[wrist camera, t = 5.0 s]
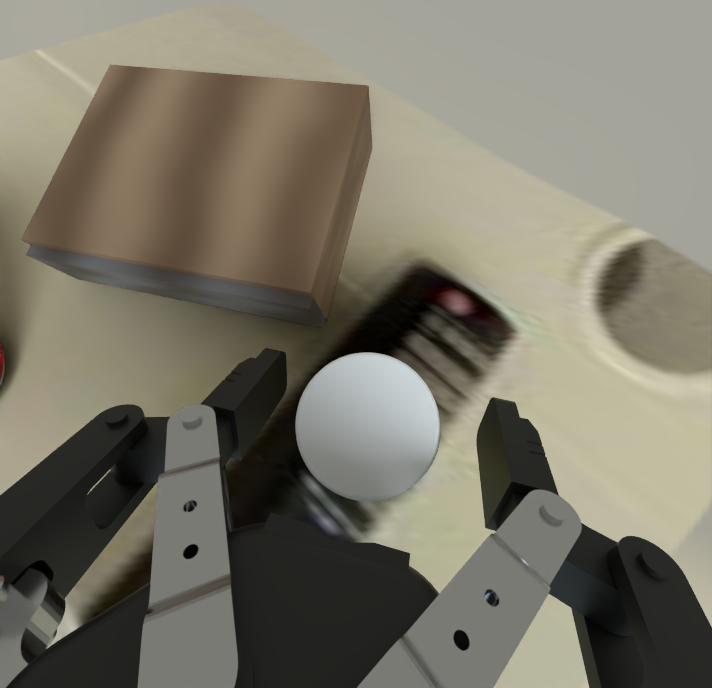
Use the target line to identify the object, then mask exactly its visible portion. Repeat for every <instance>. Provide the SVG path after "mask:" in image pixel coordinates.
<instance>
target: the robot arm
mask: <svg viewBox="0 0 712 688" xmlns="http://www.w3.org/2000/svg"><path fill="white" fill-rule="evenodd" d="M286 386H287V370H286V354H285V352H282V351H278V350H273V349H268V348H266V349H264V350H263V351H262V352H261V354H260V355H259V356H258V357H257V358H256V359H255V358H249V359H247V360H245V361H243V362H241V363H240V364H238V366H237V367H236V368H235V369H234V370H233V371H232V372H231V373H230V374H229V375H228V376H227V377H226V378H225V380H223V381H222V382H221V383H220V384H219V385H218V386H217V387H216V388H215V389H214V390H213V391H212V393H211V394H210V395H209V396H208V397H207V398H206V399H205V400H204V401H203V402H202V403H201V404H197V405H190V406H186V407H184V408H182V409H180V410H178V411H176V412H175V413H174V414H173V415H172V416H171V417H145V416H144V413H143V410H142V409H141V408H140V407H138V406H136V405H119V406H115V407H112V408H110V409H107V410H105V411H103V412H102V413H100V414H99V415H98V416H96V417H95V418H94V419H93V420H91V421H90V422H89V423H88V424H87V425H85V426H84V427H83V428H82V429H80V430H79V431H78V432H77V433H76V434H74V435H73V436H72V437H71V438H70V439H68V440H67V441H66V442H65V443H64V444H62V445H61V446H60V447H59V448H57V449H56V450H55V451H54V452H53V453H51V454H50V455H49V456H48V457H47V458H45V459H44V460H43V461H42V462H40V463H39V464H38V465H37V466H36V467H34V468H33V469H32V470H31V471H30V472H28V473H27V474H26V475H25V476H23V477H22V478H21V479H20V480H19V481H17V482H16V483H15V484H14V485H13V486H11V487H10V488H9V489H8V490H6V491H5V492H4V493H3V494H2V495H0V688H493V687H494V686H495V684H496V682H497V680H498V679H499V677H500V675H501V674H502V672H503V670H504V669H505V667H506V665H507V663H508V662H509V660H510V658H511V657H512V655H513V653H514V651H515V650H516V648H517V646H518V645H519V643H520V641H521V640H522V638H523V636H524V634H525V633H526V631H527V629H528V628H529V626H530V624H531V623H532V621H533V619H534V617H535V616H536V614H537V612H538V611H539V609H540V607H541V605H542V604H543V602H544V600H545V599H546V597H547V595H548V593H549V594H550V595H552V596H554V597H555V598H557V599H558V600H560V601H562V602H563V603H565V604H566V605H568V606H570V607H571V608H572V613H573V617H574V621H575V626H576V630H577V635H578V639H579V643H580V648H581V652H582V657H583V661H584V665H585V670H586V674H587V679H588V683H589V688H712V627H711V626H710V623H709V621H708V619H707V618H706V616H705V614H704V612H703V610H702V608H701V606H700V604H699V602H698V600H697V598H696V596H695V594H694V592H693V590H692V588H691V586H690V584H689V582H688V580H687V579H686V576H685V575H684V573H683V571H682V570H681V569H680V568H679V566H678V565H677V564H676V562H675V561H674V560H673V559H672V558H671V557H670V556H669V555H668V554H667V553H665V552H664V551H663V550H662V549H660V548H659V547H658V546H656V545H654V544H653V543H651V542H649V541H647V540H645V539H642V538H639V537H635V536H626V537H624V538H622V539H621V540H620V541H619V542H618V543H617V542H615V541H613V540H611V539H610V538H608V537H606V536H604V535H602V534H600V533H598V532H596V531H594V530H592V529H591V528H589V527H587V526H585V525H584V524H582V523H581V521H580V518H579V516H578V514H577V513H576V511H575V510H574V509H573V508H572V506H571V505H570V504H569V503H568V502H566V501H565V500H564V499H563V498H561V497H560V496H559V495H558V492H557V488H556V485H555V482H554V479H553V476H552V473H551V470H550V467H549V464H548V461H547V458H546V457H545V452H544V449H543V446H542V443H541V440H540V437H539V434H538V431H537V430H536V429H535V427H534V426H533V425H532V424H531V422H530V421H529V420H528V419H524V418H520V417H519V413H518V410H517V406H516V403H515V402H512V401H508V400H503V399H498V398H494V397H493V398H491V400H490V402H489V404H488V406H487V409H486V411H485V414H484V416H483V419H482V421H481V423H480V426H479V429H478V433H477V452H478V462H479V471H480V481H481V490H482V499H483V509H484V518H485V528H488V529H491V530H495V531H496V532H495V533H494V534H491V535H490V536H489V537H488V538H487V539H486V540H485V541H484V542H483V544H482V545H481V546H480V547H479V548H478V549H477V551H476V552H475V553H474V554H473V555H472V556H471V558H470V559H469V560H468V561H467V562H466V563H465V565H464V566H463V567H462V568H461V569H460V571H459V572H458V573H457V574H456V575H455V576H454V578H453V579H452V580H451V581H450V582H449V583H448V585H447V586H446V587H445V588H444V589H443V590H442V592H441V593H440V594H439V593H438V592H437V590H436V589H435V588H434V587H433V585H432V584H431V583H430V582H429V581H428V580H427V579H426V578H425V577H424V576H423V575H421V574H420V573H419V572H418V571H416V570H415V569H414V568H412V567H410V566H409V559H410V553H407V552H403V551H400V550H397V549H393V548H390V547H386V546H383V545H380V544H376V543H353V542H335V541H333V540H331V539H329V538H328V537H326V536H325V535H323V534H322V533H320V532H318V531H317V530H315V529H314V528H312V527H310V526H309V525H307V524H306V523H304V522H302V521H298V520H295V519H291V518H288V517H285V516H281V515H278V514H275V513H270V515H269V517H268V520H267V522H266V523H259V524H252V525H247V526H243V527H241V528H238V529H235V530H233V524H232V517H231V509H230V501H229V493H228V484H227V476H226V468H225V464H226V463H227V461H228V460H229V459H230V457H232V458H236V459H239V460H242V458H243V457H244V455H245V454H246V452H247V451H248V449H249V448H250V446H251V445H252V443H253V442H254V440H255V439H256V437H257V435H258V434H259V432H260V431H261V429H262V428H263V426H264V425H265V423H266V422H267V420H268V419H269V417H270V416H271V414H272V413H273V411H274V410H275V408H276V407H277V405H278V404H279V402H280V400H281V399H282V397H283V395H284V393H285V390H286ZM109 469H110V470H111V471H110V472H109V473H108V474H107V475H106V476H105V477H104V478H103V479H102V480H101V481H100V482H99V483H98V484H97V485H96V486H95V487H94V489H93V490H92V491H91V492H90V493H89V494H88V492H89V491H90V489H91V488H92V487H93V486H94V485H95V484H96V483H97V482H98V481H99V480H100V479H101V478H102V477H103V476H104V475H105V474H106V472H107V471H108V470H109ZM156 483H158V488H157V502H156V515H155V529H154V543H153V557H152V570H151V582H150V583H148V584H147V585H145V586H143V587H142V588H140V589H139V590H137V591H136V592H134V593H133V594H131V595H129V596H128V597H126V598H125V599H123V600H122V601H120V602H118V603H117V604H115V605H114V606H112V607H111V608H109V609H107V610H106V611H104V612H103V613H101V614H100V615H98V616H97V617H95V618H93V619H92V620H90V621H89V622H87V623H86V624H84V625H82V626H81V627H79V628H78V629H76V630H75V631H73V632H71V633H70V634H68V635H67V636H65V637H64V638H62V639H60V640H59V641H57V642H56V643H54V644H53V645H51V646H50V647H49V648H47V647H48V646H49V645H50V644H51V642H52V641H53V640H54V638H55V636H56V633H57V627H58V626H59V624H60V622H61V620H62V618H63V615H64V612H65V599H64V598H65V597H66V596H67V595H68V593H69V592H70V591H71V590H72V588H73V587H74V586H75V585H76V583H77V582H78V581H79V580H80V578H81V577H82V576H83V575H84V573H85V572H86V571H87V569H88V568H89V567H90V566H91V564H92V563H93V562H94V561H95V559H96V558H97V557H98V556H99V554H100V553H101V552H102V551H103V549H104V548H105V547H106V546H107V544H108V543H109V542H110V541H111V539H112V538H113V537H114V536H115V534H116V533H117V532H118V530H119V529H120V528H121V527H122V525H123V524H124V523H125V522H126V520H127V519H128V518H129V517H130V515H131V514H132V513H133V512H134V510H135V509H136V508H137V507H138V505H139V504H140V503H141V502H142V500H143V499H144V498H145V497H146V495H147V494H148V493H149V491H150V490H151V489H152V488H153V486H154V485H155V484H156ZM87 494H88V495H87ZM46 648H47V649H46Z"/></svg>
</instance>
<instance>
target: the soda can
mask: <svg viewBox="0 0 712 688" xmlns="http://www.w3.org/2000/svg"><path fill="white" fill-rule="evenodd" d="M4 374H5V360H4V352H3V348H2V345H1V342H0V387H1V385H2V382H3V379H4Z"/></svg>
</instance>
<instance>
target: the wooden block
mask: <svg viewBox="0 0 712 688" xmlns="http://www.w3.org/2000/svg"><path fill="white" fill-rule="evenodd" d="M371 151H372V135H371V119H370V102H369V86H366V85H353V84H341V83H329V82H316V81H304V80H292V79H279V78H267V77H255V76H242V75H230V74H218V73H205V72H193V71H181V70H168V69H156V68H144V67H131V66H119V65H110V66H109V68H108V70H107V72H106V74H105V76H104V78H103V80H102V82H101V84H100V86H99V88H98V90H97V92H96V94H95V95H94V97H93V99H92V101H91V103H90V105H89V107H88V109H87V111H86V113H85V115H84V117H83V119H82V121H81V123H80V125H79V127H78V129H77V131H76V133H75V135H74V137H73V139H72V141H71V143H70V145H69V147H68V149H67V150H66V152H65V154H64V156H63V158H62V160H61V162H60V164H59V166H58V168H57V170H56V172H55V174H54V176H53V178H52V180H51V182H50V184H49V186H48V188H47V190H46V192H45V194H44V196H43V198H42V200H41V202H40V204H39V205H38V207H37V209H36V211H35V213H34V215H33V217H32V219H31V221H30V223H29V225H28V227H27V229H26V231H25V233H24V235H23V237H22V239H21V240H22V241H24V242H26V243H28V244H30V245H31V246H30V248H29V250H28V252H27V254H26V255H28V256H30V257H32V258H34V259H36V260H38V261H40V262H42V263H45V264H47V265H49V266H51V267H53V268H55V269H57V270H59V271H62V272H64V273H66V274H68V275H70V276H72V277H74V278H76V279H79V280H84V281H89V282H94V283H99V284H104V285H109V286H114V287H120V288H125V289H130V290H135V291H140V292H145V293H150V294H155V295H160V296H165V297H170V298H175V299H180V300H185V301H190V302H195V303H200V304H205V305H210V306H215V307H220V308H225V309H230V310H235V311H240V312H245V313H250V314H255V315H260V316H265V317H271V318H276V319H281V320H286V321H291V322H296V323H301V324H306V325H311V326H316V327H321V328H323V324H324V321H325V320H327V318H328V315H329V311H330V307H331V303H332V299H333V296H334V292H335V288H336V284H337V280H338V277H339V273H340V269H341V265H342V261H343V257H344V254H345V250H346V246H347V242H348V238H349V235H350V231H351V227H352V223H353V219H354V216H355V212H356V208H357V204H358V200H359V197H360V193H361V189H362V185H363V181H364V177H365V174H366V170H367V166H368V162H369V158H370V155H371Z"/></svg>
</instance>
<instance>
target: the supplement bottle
mask: <svg viewBox="0 0 712 688" xmlns="http://www.w3.org/2000/svg"><path fill="white" fill-rule="evenodd" d="M295 429H296V438H297V444H298V448H299V451H300V453H301V456H302V458H303V460H304V462H305V464H306V466H307V467H308V469H309V471H310V472H311V473H312V474H313V476H314V477H315V478H316V479H317V480H318V481H319V482H320V483H321V484H323V485H324V486H325V487H326V488H328V489H329V490H331V491H333V492H334V493H336V494H338V495H341V496H343V497H346V498H349V499H353V500H359V501H377V500H383V499H387V498H390V497H393V496H395V495H397V494H400V493H402V492H404V491H405V490H407V489H409V488H410V487H412V486H413V485H414V484H416V483H417V482H418V481H419V480H420V479H421V478H422V477H423V476H424V475H425V474H426V472H427V471H428V469H429V468H430V466H431V465H432V463H433V461H434V459H435V456H436V454H437V451H438V447H439V442H440V435H441V425H440V416H439V412H438V408H437V405H436V402H435V400H434V398H433V395H432V393H431V391H430V389H429V388H428V386H427V384H426V383H425V382H424V381H423V379H422V378H421V377H420V376H419V375H418V374H417V373H416V372H415V371H414V370H413V369H412V368H411V367H409V366H408V365H407V364H405V363H403V362H402V361H400V360H398V359H396V358H393V357H391V356H388V355H384V354H379V353H371V352H363V353H355V354H350V355H346V356H344V357H341V358H338V359H336V360H334V361H332V362H331V363H329V364H328V365H326V366H325V367H324V368H322V369H321V370H320V371H319V372H318V373H317V374H316V375H315V376H314V377H313V378H312V380H311V381H310V382H309V384H308V385H307V387H306V388H305V390H304V392H303V394H302V396H301V399H300V401H299V405H298V409H297V413H296V424H295Z"/></svg>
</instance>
